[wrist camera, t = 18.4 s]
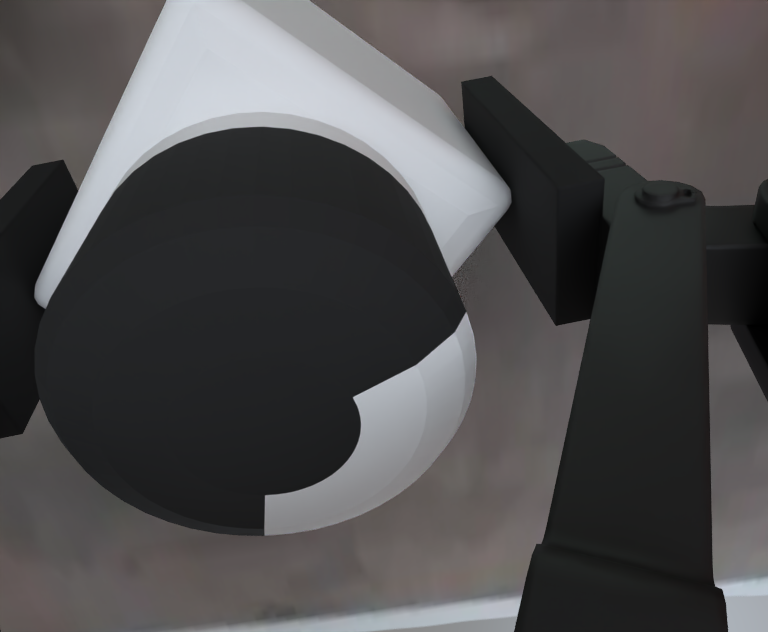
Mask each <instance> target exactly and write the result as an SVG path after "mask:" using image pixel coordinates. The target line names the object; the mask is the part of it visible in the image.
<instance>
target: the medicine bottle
mask: <svg viewBox="0 0 768 632" xmlns="http://www.w3.org/2000/svg"><path fill="white" fill-rule="evenodd" d="M511 203H512V199H511V190H510V188H509V187H508V185H507V184H506V183H505V181H504V180H503V179H502V177H501V176H500V175H499V173H498V172H497V171H496V169H495V168H494V167H493V165H492V164H491V163H490V161H489V160H488V159H487V157H486V156H485V155H484V153H483V152H482V151H481V149H480V148H479V147H478V145H477V144H476V143H475V141H474V140H473V138H472V137H471V136H470V134H469V133H468V132H467V130H466V129H465V128H464V126H463V125H462V124H461V122H460V121H459V120H458V118H457V117H456V116H455V114H454V113H453V112H452V110H451V109H450V108H449V106H448V105H447V104H446V102H445V101H444V100H443V98H442V97H441V96H440V95H438V94H437V93H436V92H434V91H433V90H432V89H430V88H429V87H427V86H426V85H425V84H423V83H422V82H421V81H419V80H418V79H417V78H415V77H414V76H412V75H411V74H410V73H408V72H407V71H406V70H404V69H403V68H401V67H400V66H399V65H397V64H396V63H395V62H393V61H392V60H390V59H389V58H388V57H386V56H385V55H384V54H382V53H381V52H379V51H378V50H377V49H375V48H374V47H373V46H371V45H370V44H368V43H367V42H366V41H364V40H363V39H362V38H360V37H359V36H357V35H356V34H355V33H353V32H352V31H351V30H349V29H348V28H347V27H345V26H344V25H342V24H341V23H340V22H338V21H337V20H336V19H334V18H333V17H331V16H330V15H329V14H327V13H326V12H325V11H323V10H322V9H320V8H319V7H318V6H316V5H315V4H314V3H312V2H311V1H309V0H166V3H165V5H164V7H163V9H162V11H161V13H160V16H159V18H158V20H157V22H156V24H155V26H154V29H153V31H152V33H151V35H150V37H149V39H148V42H147V44H146V46H145V48H144V50H143V52H142V55H141V57H140V59H139V61H138V63H137V65H136V68H135V70H134V72H133V74H132V76H131V78H130V80H129V83H128V85H127V87H126V89H125V91H124V93H123V96H122V98H121V100H120V102H119V104H118V106H117V109H116V111H115V113H114V115H113V117H112V119H111V122H110V124H109V126H108V128H107V130H106V132H105V135H104V137H103V139H102V141H101V143H100V145H99V148H98V150H97V152H96V154H95V156H94V158H93V161H92V163H91V165H90V167H89V169H88V171H87V174H86V176H85V178H84V180H83V182H82V184H81V186H80V189H79V191H78V193H77V195H76V197H75V199H74V202H73V204H72V206H71V208H70V210H69V212H68V215H67V217H66V219H65V221H64V223H63V225H62V228H61V230H60V232H59V234H58V236H57V238H56V241H55V243H54V245H53V247H52V249H51V251H50V254H49V256H48V258H47V260H46V262H45V264H44V267H43V269H42V271H41V273H40V275H39V277H38V280H37V282H36V284H35V292H34V298H35V300H36V301H37V303H38V304H39V305H40V306H42V307H43V308H45V312H44V314H43V316H42V319H41V321H40V324H39V329H38V334H37V339H36V344H35V379H36V384H37V389H38V394H39V398H40V401H41V403H42V406H43V408H44V411H45V413H46V416H47V418H48V421H49V422H50V424H51V426H52V427H53V429H54V431H55V432H56V434H57V435H58V437H59V439H60V440H61V442H62V443H63V444H64V446H65V447H66V448H67V449H68V451H69V452H70V453H71V455H72V456H73V457H74V458H75V459H76V460H77V462H78V463H79V464H80V465H81V466H82V467H83V469H84V470H85V471H86V472H87V473H88V474H89V475H90V476H91V477H92V478H94V479H95V480H96V481H97V482H98V483H99V484H100V485H101V486H103V487H104V488H105V489H107V490H108V491H109V492H111V493H112V494H114V495H115V496H117V497H118V498H120V499H121V500H123V501H124V502H126V503H128V504H130V505H132V506H134V507H136V508H138V509H139V510H141V511H143V512H145V513H148V514H150V515H153V516H155V517H158V518H160V519H163V520H165V521H168V522H171V523H174V524H178V525H181V526H185V527H188V528H192V529H197V530H203V531H208V532H213V533H221V534H231V535H247V536H267V535H281V534H291V533H297V532H304V531H310V530H315V529H318V528H322V527H326V526H330V525H334V524H337V523H340V522H343V521H346V520H349V519H351V518H354V517H357V516H359V515H361V514H363V513H366V512H368V511H370V510H372V509H374V508H376V507H378V506H380V505H382V504H383V503H385V502H387V501H388V500H390V499H392V498H393V497H395V496H397V495H398V494H399V493H401V492H402V491H403V490H405V489H406V488H407V487H409V486H410V485H411V484H413V483H414V482H415V481H416V480H417V479H418V478H419V477H420V476H421V475H422V474H423V473H424V472H425V471H426V470H428V469H429V468H430V466H431V465H432V464H433V463H434V461H435V460H436V459H437V458H438V456H439V455H440V454H441V453H442V451H443V450H444V449H445V448H446V446H447V445H448V444H449V442H450V441H451V440H452V438H453V437H454V435H455V433H456V431H457V430H458V428H459V426H460V425H461V423H462V421H463V419H464V417H465V414H466V412H467V409H468V407H469V404H470V402H471V398H472V394H473V389H474V385H475V380H476V362H477V356H476V348H475V341H474V334H473V331H472V328H471V325H470V321H469V318H468V315H467V312H466V310H465V307H464V305H463V303H462V300H461V298H460V295H459V293H458V291H457V288H456V286H455V284H454V281H453V279H452V276H453V275H454V274H455V273H456V271H457V270H458V269H459V268H460V267H461V265H462V264H463V263H464V262H465V261H466V259H467V258H468V257H469V256H470V255H471V253H472V252H473V251H474V250H475V249H476V247H477V246H478V245H479V244H480V243H481V241H482V240H483V239H484V238H485V237H486V235H487V234H488V233H489V232H490V231H491V229H492V228H493V227H494V226H495V225H496V223H497V222H498V221H499V220H500V219H501V217H502V216H503V215H504V214H505V213H506V211H507V210H508V208H509V207H510V205H511Z"/></svg>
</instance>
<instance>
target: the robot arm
mask: <svg viewBox="0 0 768 632" xmlns="http://www.w3.org/2000/svg"><path fill="white" fill-rule="evenodd" d="M461 83H462V96H463V109H464V123H465V129H466V130H467V132H468V133H469V134H470V136H471V137H472V138H473V140H474V141H475V143H476V144H477V145H478V147H479V148H480V149H481V151H482V152H483V153H484V155H485V156H486V157H487V159H488V160H489V161H490V163H491V164H492V165H493V167H494V168H495V169H496V171H497V172H498V173H499V175H500V176H501V177H502V179H503V180H504V181H505V183H506V184H507V185H508V187H509V188H510V190H511V199H512V203H511V205H510V207H509V208H508V210H507V211H506V213H505V214H504V215H503V216H502V217H501V219H500V220H499V221H498V222H497V223H496V225H495V228H496V229H497V231H498V233H499V234H500V236H501V238H502V239H503V241H504V242H505V244H506V246H507V247H508V249H509V251H510V252H511V254H512V255H513V257H514V259H515V260H516V262H517V264H518V265H519V267H520V268H521V270H522V272H523V273H524V275H525V277H526V278H527V280H528V281H529V283H530V285H531V286H532V288H533V290H534V291H535V293H536V294H537V296H538V298H539V299H540V301H541V303H542V304H543V306H544V307H545V309H546V311H547V312H548V314H549V316H550V317H551V319H552V320H553V322H554V324H555V325H556V326H557V325H562V324H567V323H572V322H577V321H582V320H587V319H591V320H590V324H589V329H588V334H587V339H586V343H585V348H584V353H583V357H582V362H581V367H580V371H579V376H578V381H577V386H576V390H575V395H574V400H573V404H572V409H571V414H570V418H569V423H568V428H567V433H566V437H565V442H564V447H563V451H562V456H561V461H560V465H559V470H558V475H557V480H556V484H555V489H554V494H553V498H552V503H551V508H550V513H549V517H548V522H547V527H546V531H545V535H544V538H543V541H542V544H536V547H535V549H534V552H533V554H532V558H531V561H530V565H529V569H528V573H527V577H526V581H525V586H524V590H523V595H522V599H521V604H520V608H519V612H518V617H517V622H516V626H515V630H514V632H728V625H727V613H726V602H725V599H724V594H723V590H722V589H720V588H718V587H715V584H714V579H713V565H712V514H711V464H710V413H709V362H708V324H723V325H731V329H732V331H733V333H734V335H735V337H736V339H737V341H738V343H739V345H740V347H741V349H742V351H743V353H744V355H745V357H746V359H747V361H748V363H749V365H750V367H751V369H752V371H753V373H754V375H755V377H756V379H757V381H758V383H759V385H760V387H761V389H762V391H763V393H764V395H765V397H766V399H767V401H768V179H767V180H764V181H763V183H762V184H761V185H760V186H759V189H758V194H757V198H756V203H755V205H740V206H705V197H704V196H703V194H702V192H701V191H699V190H698V189H696V188H694V187H693V186H690V185H687V184H683V183H680V182H673V181H663V180H659V181H647V180H646V179H644V178H643V177H642V176H641V175H640V174H638V173H637V172H636V171H635V170H633V169H632V168H631V167H630V166H628V165H627V166H626V163H625V162H623V161H622V160H621V159H620V158H616V155H615V154H613V153H612V152H611V151H610V150H608V149H607V148H606V147H605V146H603V145H599V144H596V143H593V142H590V141H587V140H580V141H574V142H569V143H565V142H564V141H563V140H562V139H561V138H560V137H558V136H557V135H556V134H555V133H554V132H553V131H552V130H551V129H550V128H549V127H547V126H546V125H545V124H544V123H543V122H542V121H541V120H540V119H539V118H538V117H536V116H535V115H534V114H533V113H532V112H531V111H530V110H529V109H528V108H526V107H525V106H524V105H523V104H522V103H521V102H520V101H519V100H518V99H517V98H515V97H514V96H513V95H512V94H511V93H510V92H509V91H508V90H507V89H505V88H504V87H503V86H502V85H501V84H500V83H499V82H498V81H497V80H496V79H494V78H493V77H492V76H489V77H484V78H479V79H474V80H469V81H464V82H461ZM77 193H78V190H77V187H76V185H75V183H74V181H73V179H72V177H71V175H70V173H69V171H68V169H67V167H66V165H65V162H64V160H59V161H54V162H49V163H44V164H39V165H34V166H32V167H31V168H30V169H29V170H28V171H27V172H26V173H25V174H24V175H23V176H22V177H21V178H20V179H19V180H18V181H17V182H16V184H15V185H14V186H13V187H12V188H11V189H10V190H9V191H8V192H7V193H6V194H5V195H4V196H3V197H2V198H1V200H0V438H4V437H9V436H14V435H19V434H23V432H24V430H25V428H26V426H27V424H28V422H29V420H30V418H31V416H32V414H33V412H34V410H35V408H36V405H37V403H38V401H39V399H40V398H39V394H38V389H37V384H36V379H35V344H36V339H37V334H38V329H39V324H40V321H41V319H42V316H43V314H44V312H45V308H43V307H42V306H40V305H39V304H38V303H37V301H36V300H35V298H34V292H35V284H36V282H37V280H38V277H39V275H40V273H41V271H42V269H43V267H44V264H45V262H46V260H47V258H48V256H49V254H50V251H51V249H52V247H53V245H54V243H55V241H56V238H57V236H58V234H59V232H60V230H61V228H62V225H63V223H64V221H65V219H66V217H67V215H68V212H69V210H70V208H71V206H72V204H73V202H74V199H75V197H76V195H77ZM0 632H1V631H0Z"/></svg>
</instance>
